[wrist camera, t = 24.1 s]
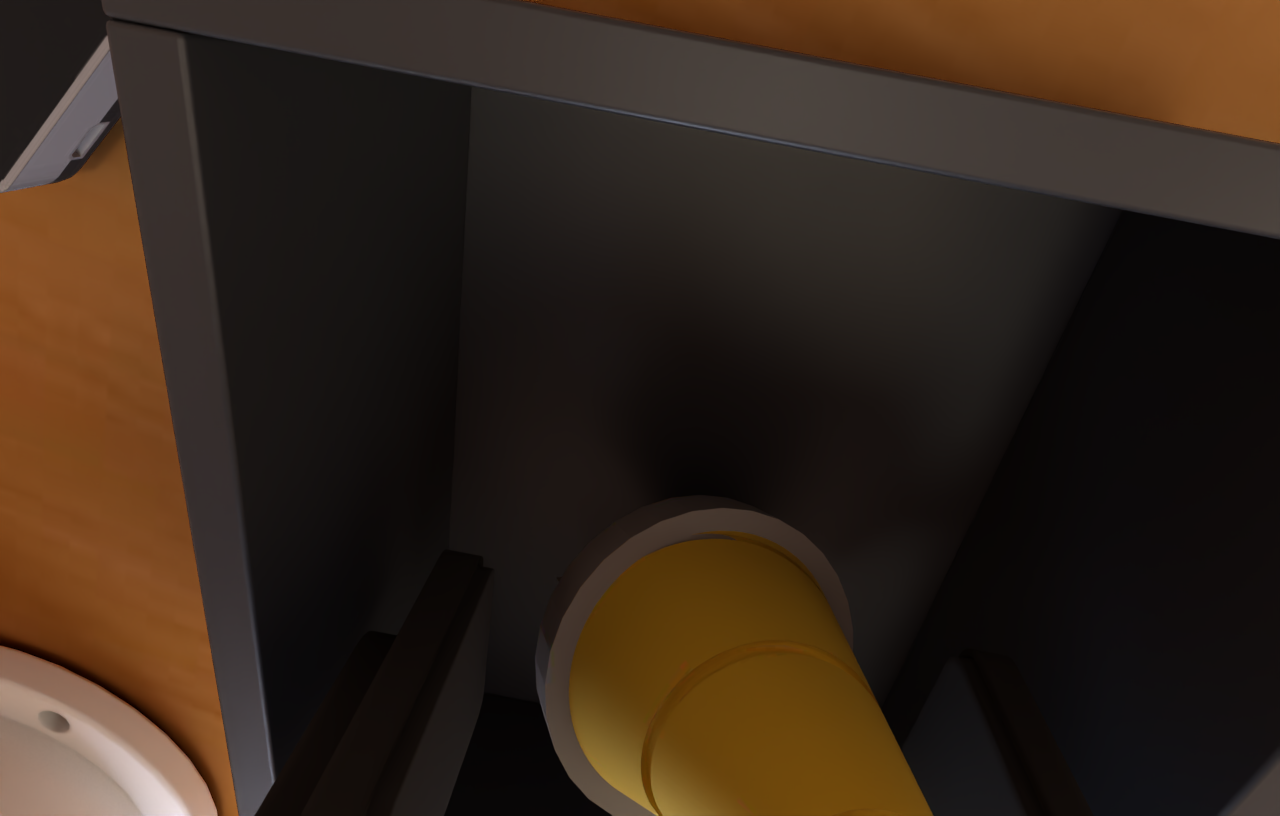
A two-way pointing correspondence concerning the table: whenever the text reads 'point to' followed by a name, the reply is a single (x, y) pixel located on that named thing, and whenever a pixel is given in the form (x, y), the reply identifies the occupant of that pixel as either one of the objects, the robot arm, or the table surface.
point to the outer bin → (710, 364)
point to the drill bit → (713, 673)
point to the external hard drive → (53, 89)
